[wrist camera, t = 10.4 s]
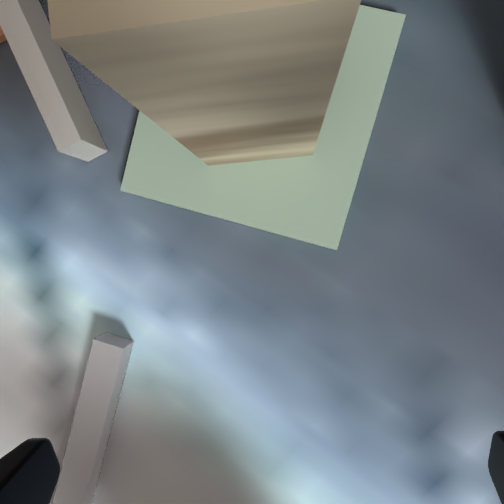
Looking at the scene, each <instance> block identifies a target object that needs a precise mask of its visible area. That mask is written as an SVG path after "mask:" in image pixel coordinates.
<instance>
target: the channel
mask: <svg viewBox="0 0 504 504" xmlns="http://www.w3.org/2000/svg"><path fill="white" fill-rule="evenodd" d="M5 40H7V41H8V43H9V45H10V48H11V50H12V52H13V54H14V56H15V58H16V61H17V63H18V65H19V67H20V69H21V72H22V74H23V76H24V78H25V80H26V82H27V85H28V87H29V89H30V91H31V93H32V95H33V98H34V100H35V102H36V104H37V106H38V108H39V111H40V113H41V115H42V117H43V119H44V121H45V124H46V126H47V128H48V130H49V132H50V134H51V137H52V139H53V141H54V143H55V145H56V147H57V150H58V152H61V153H64V154H67V155H70V156H73V157H76V158H79V159H82V160H84V161H87V162H89V161H91V160H92V159H94V158H96V157H98V156H100V155H102V154H104V153H106V152H108V150H107V148H106V146H105V143H104V141H103V139H102V137H101V135H100V133H99V130H98V128H97V126H96V124H95V122H94V120H93V117H92V115H91V113H90V111H89V109H88V106H87V104H86V102H85V100H84V98H83V96H82V93H81V91H80V89H79V87H78V85H77V82H76V80H75V78H74V76H73V74H72V72H71V69H70V67H69V65H68V63H67V61H66V59H65V56H64V54H63V52H62V50H61V48H60V46H59V45H58V44H56V43H55V42H54V41H53V40H51V30H50V24H49V21H48V19H47V17H46V15H45V13H44V11H43V8H42V6H41V4H40V2H39V0H0V43H2V42H4V41H5Z"/></svg>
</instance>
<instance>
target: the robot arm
mask: <svg viewBox="0 0 504 504" xmlns="http://www.w3.org/2000/svg"><path fill="white" fill-rule="evenodd" d="M488 468H489V472H490V476H491V478H492V481H493V483H494V486H495V488H496V491H497V493H498V496H499V498H500V501H501V503H502V504H504V431H497V432H495V433H494V434H493V437H492V443H491V448H490V454H489V459H488ZM59 474H60V464H59V461H58V459H57V456H56V454H55V451H54V449H53V446H52V443H51V442H50V440H48V439H47V438H31V439H28V440H26V441H24V442H23V443H21V444H20V445H19V446H17V447H16V448H15V449H13V450H12V451H10V452H9V453H8V454H6V455H5V456H4V457H2V458H1V459H0V504H49V502H50V500H51V497H52V494H53V492H54V489H55V486H56V484H57V481H58V478H59Z"/></svg>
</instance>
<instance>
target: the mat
mask: <svg viewBox="0 0 504 504" xmlns="http://www.w3.org/2000/svg"><path fill="white" fill-rule="evenodd" d="M405 16H406V15H404V14H400V13H395V12H391V11H386V10H382V9H377V8H373V7H368V6H364V5H360V6H359V9H358V12H357V15H356V19H355V22H354V25H353V28H352V31H351V34H350V38H349V41H348V44H347V47H346V50H345V54H344V57H343V60H342V63H341V66H340V70H339V73H338V76H337V79H336V82H335V85H334V89H333V92H332V95H331V98H330V101H329V105H328V108H327V111H326V114H325V117H324V120H323V124H322V127H321V130H320V133H319V136H318V140H317V143H316V146H315V149H314V152H313V155H309V156H299V157H289V158H279V159H269V160H259V161H250V162H240V163H230V164H220V165H210V166H208V165H207V164H206V163H204V162H203V161H202V160H201V159H199V158H198V157H197V156H196V155H194V154H193V153H192V152H191V151H189V150H188V149H187V148H186V147H184V146H183V145H182V144H181V143H179V142H178V141H177V140H176V139H174V138H173V137H172V136H171V135H169V134H168V133H167V132H166V131H164V130H163V129H162V128H161V127H160V126H158V125H157V124H156V123H155V122H153V121H152V120H151V119H150V118H148V117H147V116H146V115H145V114H143V113H142V112H141V111H140V110H139V115H138V119H137V123H136V127H135V131H134V135H133V139H132V144H131V148H130V152H129V156H128V160H127V164H126V168H125V173H124V177H123V181H122V185H121V189H120V191H124V192H127V193H131V194H134V195H138V196H142V197H145V198H149V199H153V200H156V201H160V202H163V203H167V204H171V205H174V206H178V207H182V208H185V209H189V210H192V211H196V212H200V213H203V214H207V215H211V216H214V217H218V218H221V219H225V220H229V221H232V222H236V223H240V224H243V225H247V226H250V227H254V228H258V229H261V230H265V231H269V232H272V233H276V234H279V235H283V236H287V237H290V238H294V239H298V240H301V241H305V242H308V243H312V244H316V245H319V246H323V247H327V248H330V249H334V250H337V248H338V244H339V241H340V238H341V234H342V231H343V227H344V224H345V221H346V217H347V214H348V210H349V207H350V204H351V200H352V197H353V193H354V190H355V187H356V183H357V180H358V176H359V173H360V169H361V166H362V163H363V159H364V156H365V152H366V149H367V146H368V142H369V139H370V135H371V132H372V129H373V125H374V122H375V118H376V115H377V112H378V108H379V105H380V101H381V98H382V95H383V91H384V88H385V84H386V81H387V77H388V74H389V71H390V67H391V64H392V60H393V57H394V54H395V50H396V47H397V43H398V40H399V37H400V33H401V30H402V26H403V23H404V20H405Z"/></svg>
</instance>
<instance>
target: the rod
mask: <svg viewBox="0 0 504 504" xmlns="http://www.w3.org/2000/svg"><path fill="white" fill-rule="evenodd" d="M133 343H134V341H131V340H128V339H125V338H122V337H119V336H116V335H112V334H109V333H106V332H105V333H104V334H102V335H100V336H98V337H96V338H95V339H93V343H92V347H91V351H90V355H89V359H88V363H87V367H86V371H85V375H84V379H83V383H82V387H81V391H80V395H79V399H78V403H77V407H76V411H75V415H74V419H73V423H72V427H71V431H70V435H69V439H68V443H67V447H66V451H65V455H64V459H63V463H62V467H61V471H60V475H59V479H58V483H57V487H56V491H55V495H54V499H53V503H52V504H92V501H93V497H94V493H95V490H96V486H97V482H98V478H99V474H100V470H101V466H102V462H103V459H104V455H105V451H106V447H107V443H108V439H109V435H110V432H111V428H112V424H113V420H114V416H115V412H116V408H117V404H118V401H119V397H120V393H121V389H122V385H123V381H124V377H125V374H126V370H127V366H128V362H129V358H130V354H131V350H132V346H133Z"/></svg>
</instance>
